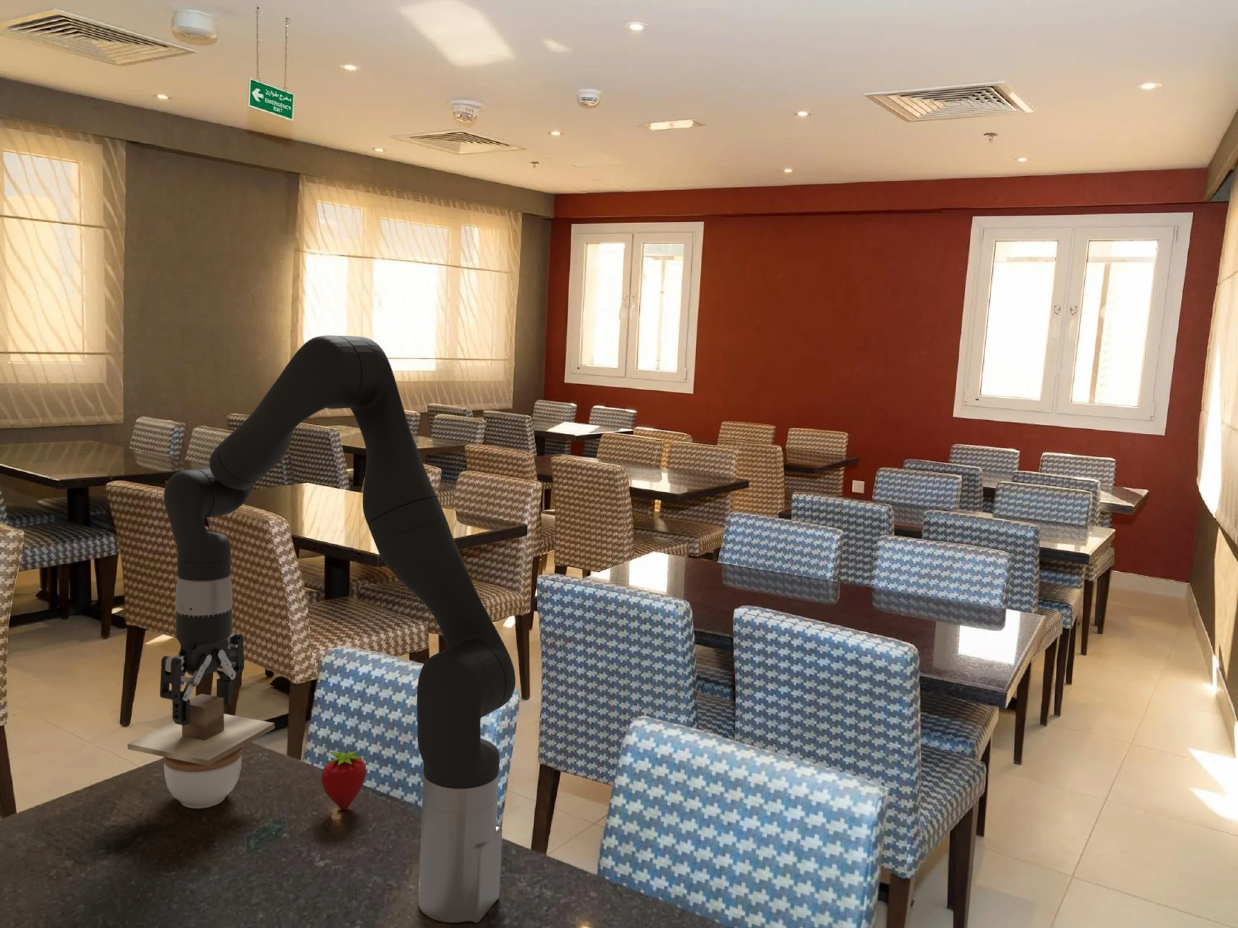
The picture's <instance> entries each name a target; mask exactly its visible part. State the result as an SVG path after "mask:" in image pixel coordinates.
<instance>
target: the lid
mask: <svg viewBox="0 0 1238 928" xmlns="http://www.w3.org/2000/svg"><path fill="white" fill-rule="evenodd" d="M189 699H190V723H189V724H187V725H179V724H176V723H175V722H174V721H172V722H169V723H167V724H166V725H163V726H161V727H160V728H158V729H156V730H155V729H154V730H153V731H151V732H149V733H147V734H145V735H143V736H140V737H139V738H137V739H135V740H132V741H130V742H128V743H127V750H130V751H133V752H138V753H139V752H140V753H144V754H149V755H154V756H159V757H162V758H163V757H168V758H173V759H177V760H182V761H187V762H192V763H197V764H201V765H206V766H209V765H211V764H213V763H214V762H216V761H218V760H220V759H222V758H223V757H225V756H227V755H229V754H230V753H232V752H234V751H236V750H237V749H239V748H241V747H244V746H246V745H248V744H249V743H251V742H253V741H254V740H257V739H258V738H260V737H261V736H264V735H265V734H267V733H269V732H270V731H273V730H274V729H275V727H276V726H275V722H271V721H264V720H261V719H260V720H259V719H254V718H249V717H243V716H238V715H233V714H232V715H231V714H228V713H224V712H225V709H224V708H225V707H224V706H225V705H224V698H222V697H217V695H216V696H215V695H210V694H205V693H199V694H198V695H196V696H194V697H192V698H191V697H190V698H189Z"/></svg>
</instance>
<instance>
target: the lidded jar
mask: <svg viewBox="0 0 1238 928" xmlns="http://www.w3.org/2000/svg"><path fill="white" fill-rule="evenodd" d="M243 747H244V746H243ZM243 747H241V748H239V749H237V750H236V751H234V752H232V753H230V754H229V755H227V756H225V757H223V758H222V759H220V760H218V761H216V762H214V763H213V764H211V765H209V766H206V765H201V764H197V763H192V762H187V761H182V760H177V759H173V758H168V757H163V756H162V758H163V769H164V779H165V782H166V787H167V789H168V791H169V793H170V794H171V795H172V796H173V797H174V799H176V800H177V801H179V802H180V804H181V805H182V806H184V807H185V808H188V809H206V808H207V809H208V808H211V807H214V806H216V805H219V804H221V802H223V801H224V800H225V799H226V797H227V796H228V795H229V794H230V792H232V791H233V789H234V788H235V786H236V785H237V783H238V780H239V777H240V774H241V770H242V769H241V768H242V762H243V761H242V756H243Z"/></svg>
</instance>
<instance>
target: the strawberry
mask: <svg viewBox="0 0 1238 928" xmlns="http://www.w3.org/2000/svg"><path fill="white" fill-rule="evenodd" d="M340 744H341V745H342V746H343V748H345V750H347V752H346V753H345V752H335V751H329V752H330V754H331V755H332V756H334V757H335V758H334V759H332V760H330V761H329V762H328V763H327V764H326V765H325V766H324V768H323V769H322V774H321V777H320V778H321V779H320V780H321V785H322V787H323V790H324V793H325V794H326V795H327V797H329V798H330V800H331V801H332V802H333V803H334V804H335V805H337V806H338V808H339V809H340V810H347V809H348V808H349V807H350V806H351V803H352V802H353V801H354V799H356V797H357V795H358V794H359V792H360V791H361V789H362V787H363V786H364V782H365V779H366V775H367V767H366V762H365V761H364V760H363V759H364V758H363V757H361V756H357V755H355V754H357V753H359V750H356V751H350V752H349V749H348V748H347V747H346V745H344V744H343V743H342V742H340Z"/></svg>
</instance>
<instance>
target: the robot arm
mask: <svg viewBox="0 0 1238 928" xmlns="http://www.w3.org/2000/svg"><path fill="white" fill-rule="evenodd" d="M325 409H329V410H338V409H340V410H341V409H350V410H351V412H352V414H353V416H354V418H355V420H356V422H357V425H358V428H359V430H360V433H361V436H362V439H363V442H364V445H365V452H366V462H365V463H366V464H365V471H364V472H365V474H364V478H363V487H362V512H363V516H364V519H365V522H366V524H367V527H368V529H369V531H370V534H371V537H372V539H373V542H374V544H375V547H376V550H377V552H378V554H379V556H380V558H381V559H382V561H383V564H384V565H385V566H386V567H387V568H388V570H389V571H390V572H391V573H392V574H393V576H395V578H397V579H398V580H399V581H400V582H401V583H402V584H403V585H404V586H405V587H406V588H407V589H409V591H411V592H412V593H413V594H414V595H415V596H416V597H417V598H418V599H419V600H420V601H421V602H422V603H423V604H424V605H425V606H426V607H427V609H428V610H429V611H430V613H431V614H432V616H433V618H434V619H435V621H436V623H437V625H438V627H439V629H440V631H441V633H442V636H443V639H444V641H445V644H446V648H447V649H444V650H441V651H439V652H436V653H435V654H433V655H431V656H430V657H429V658H428V659H426V661H425V662H424V664H423V665H422V667H421V669H420V671H419V674H418V678H417V679H418V680H417V686H416V687H417V689H416V721H417V722H416V723H417V724H416V725H417V727H416V728H417V733H416V734H417V745H418V751H419V754H420V756H421V759H422V763H423V768H422V769H423V771H422V772H423V773H422V797H421V799H422V800H421V822H420V823H421V824H420V825H421V826H420V846H419V847H420V850H419V851H420V852H419V880H418V907H419V909H420V911H421V912H422V913H423V914H424V915H425V916H427V917H428V918H430V919H432V920H435V921H439V922H442V923H443V922H444V923H464V922H473V923H479V922H480V921H481V920H482V918H484V917H485V916H486V914H487V913H488V911H489V910H490V909H491V907H492V906H493V905H494V904H495V903H496V901H497V900H498V899H499V898H500V887H501V886H500V885H501V865H502V864H501V863H502V846H503V845H502V844H503V843H502V842H503V828H502V827H501V826H498V825H497V817H498V816H497V815H498V796H499V795H498V794H499V778H500V777H499V773H500V759H501V758H500V752H499V749H498V748H497V746H496V745H495V744H494V743H492V742H491V741H488V740H486V739H484V738H481V737H482V735H481V734H482V733H481V719H482V718H483V717H486V716H488V715H490V714H491V713H493V712H494V711H496V710H498V709H501V707H504V706H505V705H506V704H508V702H509V701H510V700H511V698H512V697H513V695H514V694H515V693H514V692H515V688H516V673H515V672H516V671H515V667H514V663H513V660H512V658H511V655H510V654H509V650H508V649H507V647H506V645H505V642H504V641H503V639H502V637H501V635H500V634H499V632H498V630H497V627H496V626H495V625H494V622H493V620H492V619H491V616H490V615H489V613H488V611H487V609H486V607H485V606H484V604H483V601H482V600H481V598H480V596H479V594H478V592H477V590H476V588H475V585H474V583H473V580H472V579H471V575H470V574H469V571H468V569H467V567H466V564H465V562H464V559H463V558H462V556H461V552H460V551H459V549H458V546H457V543H456V542H455V539H454V536H453V534H452V530H451V529H450V526H449V522H448V520H447V517H446V514H445V513H444V510H443V508H442V505H441V503H440V500H439V499H438V495H437V493H436V491H435V490H434V487H433V485H432V483H431V481H430V478H429V476H428V473H427V470H426V468H425V465H424V462H423V460H422V457H421V455H420V452H419V449H418V446H417V444H416V441H415V438H414V437H413V434H412V431H411V428H410V424H409V422H408V418H407V415H406V411H405V409H404V405H403V402H402V397H401V395H400V391H399V388H398V385H397V381H396V378H395V374H394V372H393V370H392V366H391V363H390V361H389V359H388V356H387V355H386V353H385V351H384V349H383V348H382V347H381V345H379V344H378V343H377V342H375V341H374V340H372V339H370V338H368V337H365V336H355V335H354V336H352V335H329V334H327V335H326V334H325V335H321V336H320V335H319V336H314V337H312V338H311V339H309V340H307V341H306V342H305V343H304V344H303V345H302V346H301V347H300V348H299V349H298V350H297V351H296V352H295V354H294V355H293V356H292V357H291V359H290V360H289V361H288V362H287V364H286V366H285V368H283V370H282V372H281V374H279V376H278V377H277V378H276V381H274V383H273V384H272V385H271V387H270V389H269V390H268V391H267V392H266V395H264V396H263V398H262V400H261V401H260V402H259V404H257V407H256V408H254V410H253V412H251V414H250V415H249V416H248V417H247V418H246V419H245V420H244V421H243V422H242V423H241V424H239V426H238V427H237V428H236V429H235V430H233V431H232V432H231V433H230V434H229V435H228V436H227V437H226V438H224V440H223V441H222V442H221V443H219V444H218V445H217V446H216V448H215V449H214V450H213V451H212V453H211V455H210V457H209V462H208V463H209V467H204V468H195V469H187V470H186V469H185V470H180V471H176V472H175V473H173V475H171V476H170V478H169V479H168V480H167V483H166V484H165V487H164V491H163V501H164V507H165V511H166V514H167V517H168V520H169V524H170V527H171V531H172V534H173V538H174V541H175V544H176V549H177V563H176V564H177V579H176V586H175V587H176V588H175V638H176V639H177V641H178V642H179V645H180V649H179V652H178V654H177V655H174V656H169V655H164V656H163V657H162V658H161V665H160V681H159V682H160V686H159V697H160V698H162V699H167V700H170V701H172V708H171V709H172V713H171V714H172V715H171V717H172V722H175V723H176V724H179V725H187V724H189V723H190V699H191V694H192V692H194V691H193V690H194V688H195V687H197V686H198V685H199V684H200V682H201V681H202V678H204V677H207V675H209V674H211V673H215V675H216V676H217V677H218V678H217V679H216V697H222V698H224V706H228V705H230V704H232V701H233V693H234V680H235V678H236V676H237V674H238V673H242V672H243V671H244V669H245V655H244V654H245V653H244V635H243V634H242V633H238V632H234V631H233V584H232V577H231V571H232V567H231V565H232V560H231V559H232V556H231V555H232V552H231V551H232V550H231V549H232V547H231V540H230V539H229V538H228V536H227V535H225V534H224V533H220V532H216V531H208V529H207V527H206V524H205V519H208V518H214V517H221V516H225V515H228V514H231V513H233V512H235V511H236V510H239V508H241V507H242V506H243V505H244V504H245V503H246V501H247V499H248V498H249V496H250V493H251V492H252V491H253V489H254V487H255V484H256V483H257V482H258V481H259V480H261V478H262V477H264V476H265V475H266V474H267V473H268V472H270V471H271V470H272V469H273V468H274V467H275V466H277V464H278V463H279V462H280V461H281V460H282V459H283V458H284V457H285V455H286V453H287V451H288V449H289V448H290V446H291V441H292V436H293V432H294V430H295V429H296V428H297V427H298V426H299V424H301V423H302V422H303V421H305V420H306V419H308V418H310V417H312V416H313V415H315V414H316V413H318V412H320V411H322V410H325ZM234 658H235V661H234ZM186 674H188V675H189V676H191V677H187V676H186ZM170 684H171V689H170ZM183 685H185V687H184V686H183ZM182 687H184V688H182ZM182 689H183V691H182Z"/></svg>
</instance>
